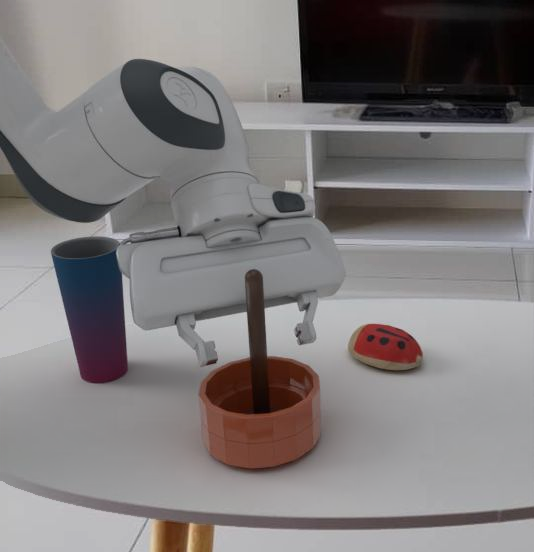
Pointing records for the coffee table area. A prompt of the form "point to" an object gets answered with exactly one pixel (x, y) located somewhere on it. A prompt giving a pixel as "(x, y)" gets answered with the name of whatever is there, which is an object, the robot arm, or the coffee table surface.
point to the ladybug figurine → (385, 347)
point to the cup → (93, 305)
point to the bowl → (260, 427)
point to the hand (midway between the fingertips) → (260, 352)
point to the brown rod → (257, 343)
